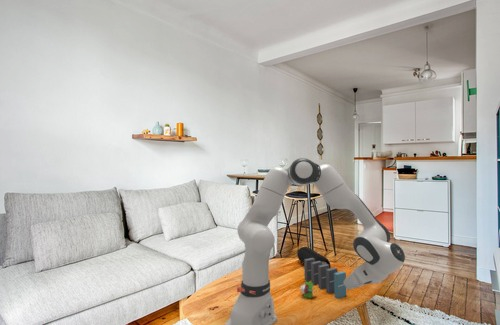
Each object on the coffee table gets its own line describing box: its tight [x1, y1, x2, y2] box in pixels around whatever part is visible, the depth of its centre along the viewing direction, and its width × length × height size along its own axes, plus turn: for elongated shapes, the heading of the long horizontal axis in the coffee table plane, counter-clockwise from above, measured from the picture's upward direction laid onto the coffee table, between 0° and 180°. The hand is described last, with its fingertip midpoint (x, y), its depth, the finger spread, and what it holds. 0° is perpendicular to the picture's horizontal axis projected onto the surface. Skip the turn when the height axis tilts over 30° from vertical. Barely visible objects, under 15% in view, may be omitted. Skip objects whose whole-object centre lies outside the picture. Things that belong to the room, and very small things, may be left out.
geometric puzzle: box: [299, 280, 317, 299], centre depth 133 cm, size 7×7×8 cm
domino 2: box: [310, 261, 322, 286], centre depth 147 cm, size 2×6×11 cm, turn 118°
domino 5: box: [333, 270, 347, 299], centre depth 133 cm, size 2×6×11 cm, turn 118°
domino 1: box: [303, 258, 315, 282], centre depth 152 cm, size 2×6×11 cm, turn 118°
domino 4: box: [325, 266, 338, 295], centre depth 138 cm, size 2×6×11 cm, turn 118°
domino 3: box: [318, 264, 329, 290], centre depth 142 cm, size 2×6×11 cm, turn 118°
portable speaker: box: [297, 246, 332, 269], centre depth 169 cm, size 26×10×10 cm, turn 16°
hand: (355, 286), depth 125 cm, fingers closed
